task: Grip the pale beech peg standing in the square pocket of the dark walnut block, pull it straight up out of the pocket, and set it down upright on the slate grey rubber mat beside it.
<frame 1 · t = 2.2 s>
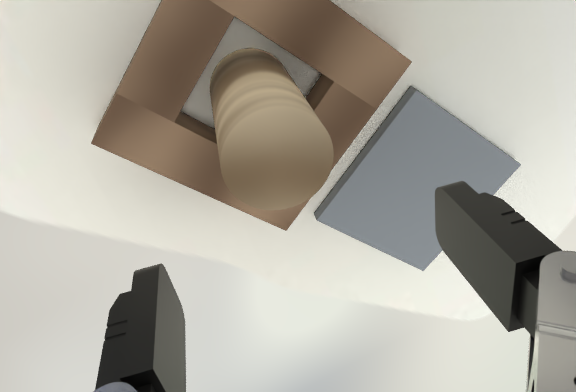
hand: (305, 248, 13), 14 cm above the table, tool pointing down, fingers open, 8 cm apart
peg: (261, 119, 21), in the pocket block
pocket block: (250, 89, 25), on the table
mat: (415, 186, 31), on the table
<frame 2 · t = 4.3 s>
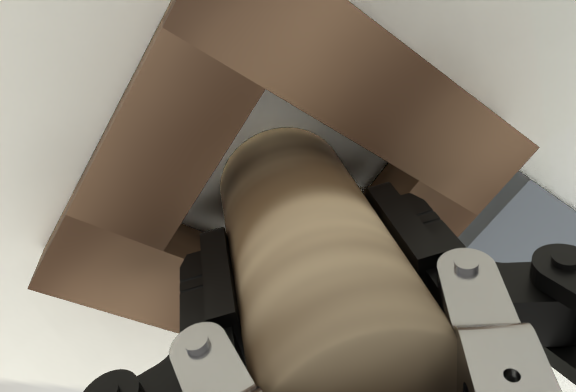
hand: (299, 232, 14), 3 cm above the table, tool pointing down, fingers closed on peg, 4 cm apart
peg: (313, 264, 13), in the pocket block, touching gripper
pocket block: (282, 185, 16), on the table
mat: (505, 296, 22), on the table
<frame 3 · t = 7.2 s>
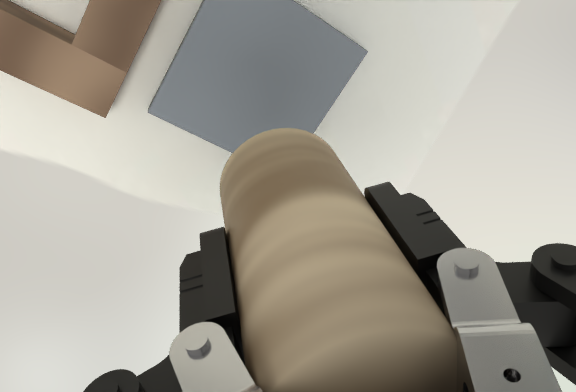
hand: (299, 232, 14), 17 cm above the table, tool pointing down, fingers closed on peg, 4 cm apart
peg: (312, 264, 13), point 19 cm above the table, touching gripper
mat: (257, 77, 29), on the table
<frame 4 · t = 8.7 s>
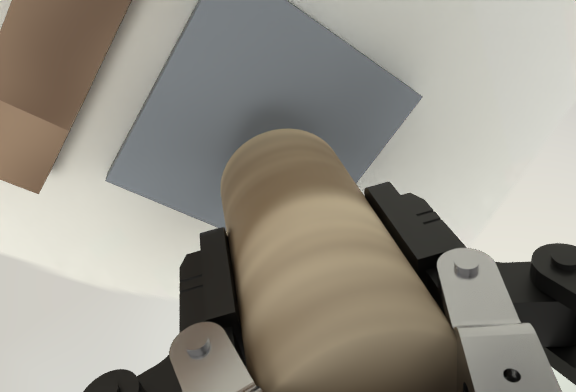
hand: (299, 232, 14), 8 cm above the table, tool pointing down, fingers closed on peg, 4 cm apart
peg: (313, 265, 13), point 9 cm above the table, touching gripper
mat: (264, 130, 20), on the table
when the fingers open (5 cm above the table, at t = 10.1 s): peg stays where it is, resting on mat.
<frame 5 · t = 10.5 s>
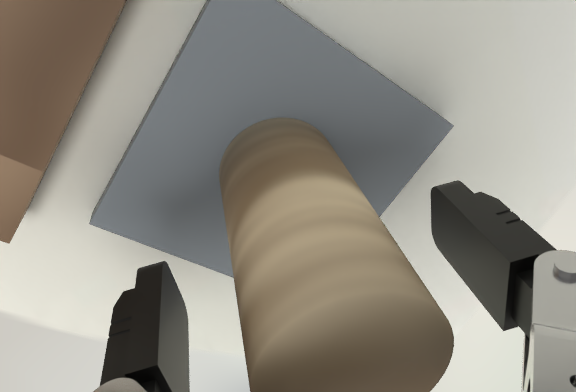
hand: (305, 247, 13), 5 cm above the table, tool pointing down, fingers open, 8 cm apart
peg: (305, 244, 13), on the mat, point 5 cm above the table
mat: (273, 163, 18), on the table
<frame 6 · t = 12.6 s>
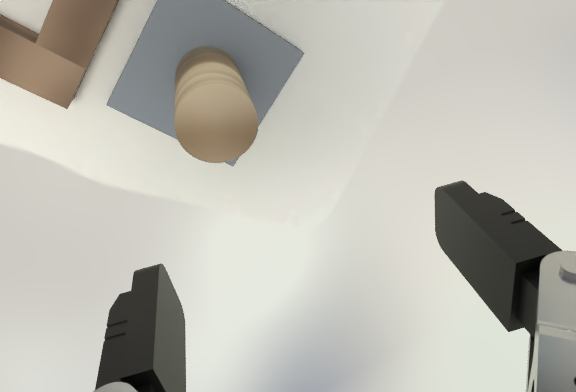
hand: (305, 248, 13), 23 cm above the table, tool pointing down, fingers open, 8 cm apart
peg: (211, 98, 28), on the mat, point 5 cm above the table
mat: (206, 75, 33), on the table
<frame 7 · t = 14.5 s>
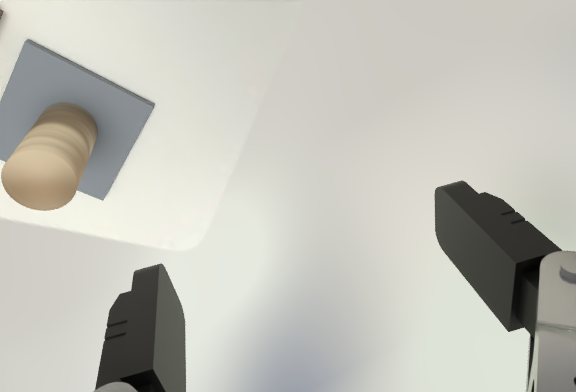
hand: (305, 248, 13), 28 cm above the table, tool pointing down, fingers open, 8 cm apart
peg: (56, 152, 33), on the mat, point 5 cm above the table
mat: (69, 125, 38), on the table
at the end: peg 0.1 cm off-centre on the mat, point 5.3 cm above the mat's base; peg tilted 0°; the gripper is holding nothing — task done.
